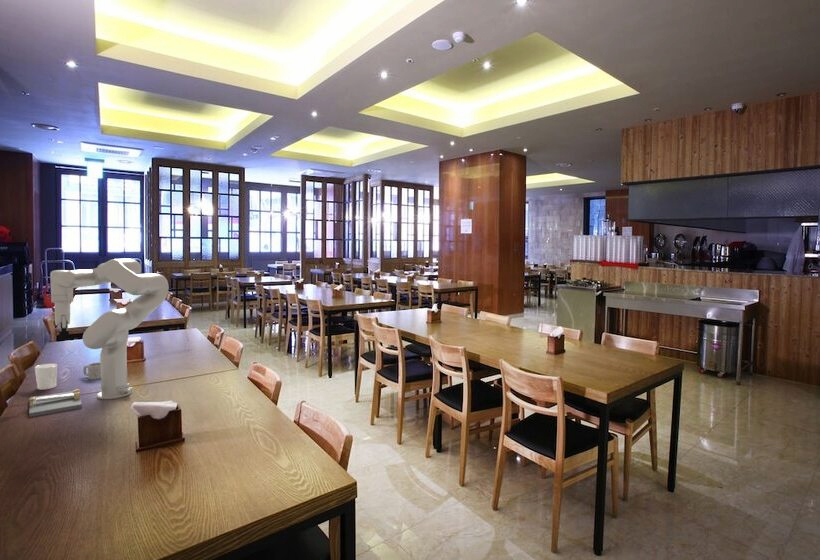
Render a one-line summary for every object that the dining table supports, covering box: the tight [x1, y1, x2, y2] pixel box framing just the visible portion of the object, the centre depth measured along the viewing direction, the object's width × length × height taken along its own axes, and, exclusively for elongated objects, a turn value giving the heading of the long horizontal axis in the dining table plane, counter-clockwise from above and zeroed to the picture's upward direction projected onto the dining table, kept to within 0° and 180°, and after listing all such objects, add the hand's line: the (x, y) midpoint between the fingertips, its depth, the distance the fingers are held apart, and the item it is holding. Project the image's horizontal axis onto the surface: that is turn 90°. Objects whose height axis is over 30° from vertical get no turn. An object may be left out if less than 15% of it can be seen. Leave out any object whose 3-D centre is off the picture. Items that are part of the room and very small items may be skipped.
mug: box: [83, 362, 101, 380], centre depth 219 cm, size 10×7×7 cm
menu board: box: [28, 388, 83, 418], centre depth 182 cm, size 16×22×4 cm
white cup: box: [34, 363, 58, 391], centre depth 203 cm, size 8×8×10 cm
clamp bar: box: [35, 393, 74, 402], centre depth 183 cm, size 14×3×1 cm, turn 130°
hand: (64, 339), depth 196 cm, fingers closed
